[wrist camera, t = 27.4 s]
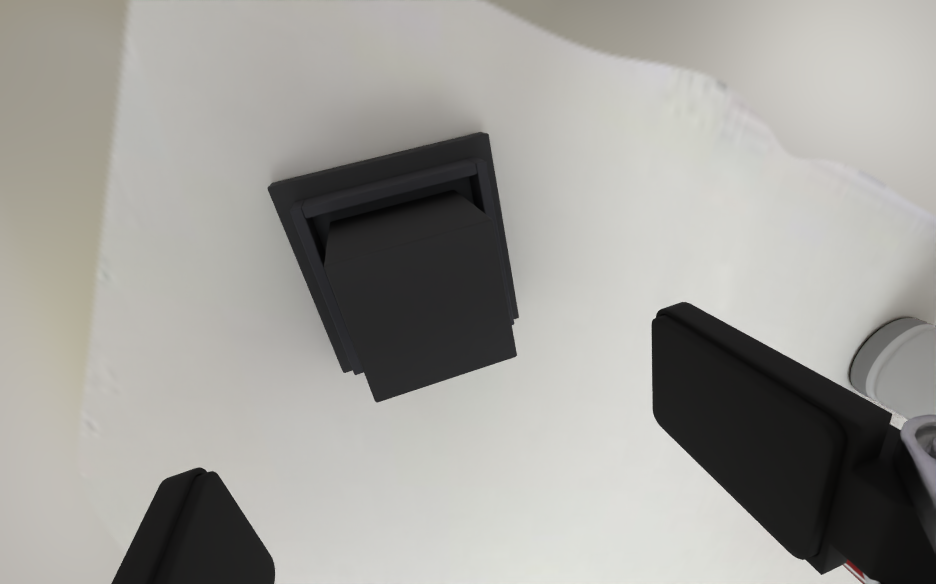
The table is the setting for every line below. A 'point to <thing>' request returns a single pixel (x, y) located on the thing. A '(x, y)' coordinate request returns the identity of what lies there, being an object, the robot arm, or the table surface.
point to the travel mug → (899, 367)
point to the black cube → (420, 292)
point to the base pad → (375, 187)
